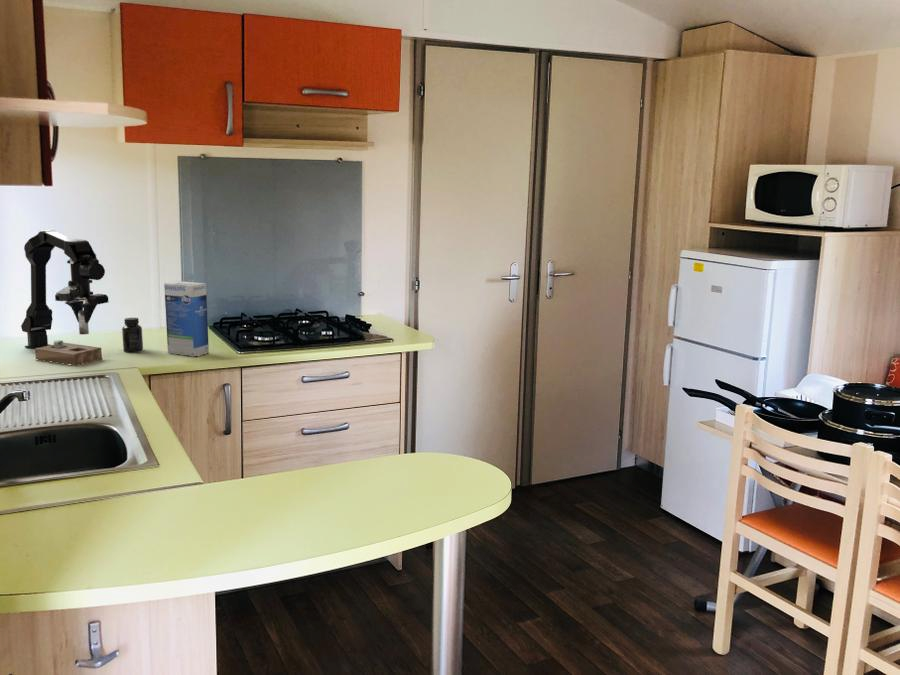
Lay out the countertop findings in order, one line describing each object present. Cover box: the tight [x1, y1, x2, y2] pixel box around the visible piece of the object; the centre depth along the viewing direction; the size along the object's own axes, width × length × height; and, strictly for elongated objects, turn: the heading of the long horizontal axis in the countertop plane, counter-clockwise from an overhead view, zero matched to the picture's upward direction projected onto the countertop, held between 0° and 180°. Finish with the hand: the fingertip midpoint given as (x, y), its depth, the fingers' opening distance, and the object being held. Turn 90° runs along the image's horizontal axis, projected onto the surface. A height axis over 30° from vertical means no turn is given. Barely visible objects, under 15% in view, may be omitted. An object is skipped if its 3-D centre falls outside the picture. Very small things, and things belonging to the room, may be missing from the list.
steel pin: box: [78, 309, 90, 335], centre depth 298 cm, size 3×3×8 cm
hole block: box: [34, 341, 103, 366], centre depth 299 cm, size 12×18×4 cm, turn 66°
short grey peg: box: [53, 339, 64, 349], centre depth 301 cm, size 3×3×6 cm
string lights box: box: [163, 280, 210, 357], centre depth 310 cm, size 13×8×26 cm, turn 68°
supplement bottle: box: [121, 317, 144, 353], centre depth 314 cm, size 7×7×12 cm
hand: (83, 322), depth 298 cm, fingers closed on steel pin, 3 cm apart
